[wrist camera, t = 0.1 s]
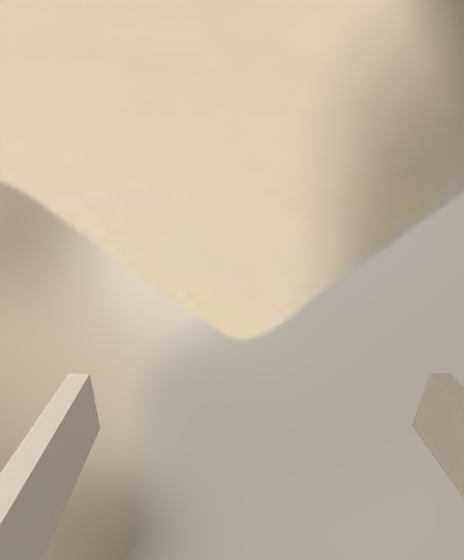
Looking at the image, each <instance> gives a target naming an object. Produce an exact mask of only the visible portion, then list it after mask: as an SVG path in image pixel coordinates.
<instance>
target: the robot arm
mask: <svg viewBox="0 0 464 560" xmlns="http://www.w3.org/2000/svg"><path fill="white" fill-rule="evenodd" d="M413 427H414V428H415V429H416V431H417V432H418V434H419V435H420V437H421V438H422V439H423V441H424V442H425V444H426V445H427V447H428V448H429V449H430V451H431V452H432V454H433V455H434V457H435V458H436V459H437V461H438V462H439V464H440V465H441V467H442V468H443V469H444V471H445V472H446V474H447V475H448V476H449V478H450V479H451V481H452V482H453V483H454V485H455V486H456V488H457V489H458V491H459V492H460V494H461V495H462V496H463V498H464V387H463V386H462V385H461V384H460V383H459V382H458V381H457V380H456V379H455V378H453V376H452V375H451V374H430V377H429V380H428V383H427V385H426V388H425V391H424V394H423V397H422V400H421V403H420V406H419V409H418V411H417V414H416V417H415V420H414V423H413ZM99 429H100V425H99V420H98V415H97V410H96V404H95V400H94V394H93V389H92V384H91V378H90V374H68V376H67V377H66V379H65V380H64V382H63V383H62V385H61V386H60V387H59V389H58V390H57V392H56V393H55V395H54V396H53V398H52V399H51V401H50V402H49V403H48V405H47V406H46V408H45V409H44V411H43V412H42V414H41V415H40V416H39V418H38V419H37V421H36V422H35V424H34V425H33V427H32V428H31V430H30V431H29V433H28V434H27V435H26V437H25V438H24V440H23V441H22V443H21V444H20V446H19V447H18V448H17V450H16V451H15V453H14V454H13V456H12V457H11V459H10V460H9V462H8V463H7V464H6V466H5V467H4V469H3V470H2V472H1V473H0V560H42V559H43V556H44V554H45V552H46V550H47V548H48V545H49V543H50V541H51V538H52V536H53V534H54V532H55V529H56V527H57V525H58V523H59V520H60V518H61V516H62V513H63V511H64V509H65V507H66V504H67V502H68V500H69V497H70V495H71V493H72V490H73V488H74V486H75V484H76V482H77V479H78V477H79V475H80V472H81V470H82V468H83V466H84V463H85V461H86V459H87V456H88V454H89V452H90V450H91V447H92V445H93V443H94V441H95V438H96V436H97V434H98V431H99Z"/></svg>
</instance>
